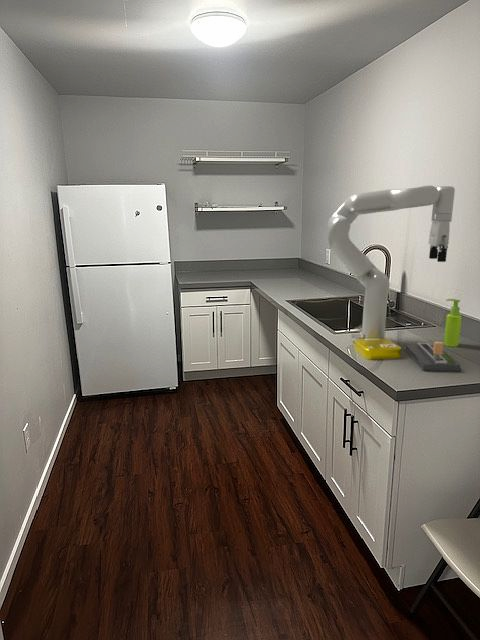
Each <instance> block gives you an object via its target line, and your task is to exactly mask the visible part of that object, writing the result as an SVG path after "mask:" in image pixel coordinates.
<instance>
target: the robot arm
mask: <svg viewBox="0 0 480 640" xmlns="http://www.w3.org/2000/svg"><path fill="white" fill-rule="evenodd" d="M455 192H456V190H455V187H454V186H449V185H448V186H446V185H445V186H442V185H440V186H434V185H422V186H418V187H417V186H416V187H410V188H392V189H389V188H388V189H382V190H376V191H367V192H361V193H360V192H359V193H353V194H351V195H349V197H347V198H346V199H345V201H344V202H343V203H342V204H341V205H340V207H339V208H338V209H337V210H336V211H335V212H334V213H333V215H331V216H330V218H329V220H328V221H327V229H328V234H327V242H328V246H329V248H330V250H331V251H332V253H333V255H335V256H336V257H337V258H338V260H340V262H341V263H342V264H343V265H344V266H345V267H346V270H347V271H348V272H349V273H350V274H351V275H352V276H353V277H354V278H355V279H356V280H358V282H359V283H360V284H361V285H362V286H363V287H364V288H365V293H364V299H363V310H362V311H363V312H362V325H361V330H360V331H359V332H358V333H350V338H351V339H354V340H356V339H375V338H385V335H386V334H385V332H386V322H387V321H386V320H387V305H388V297H389V293H390V286H391V284H390V279H389V277H388V275H387V274H386V273H384V272H382V271H381V270H380V269H378V267H376V265H374V263H373V262H372V261H371V260H370V259H369V257H368V256H367V255H366V254H365V253H364V252H362V251H361V250H360V249H359V248H358V247H357V246H356V245H355V244H354V243H353V241H352V240H351V239H350V236H349V235H350V231H351V224H353V223H354V221H355V220H356V219H357V218H358V217H359V215H360V216H361V215H367V214H374V213H384V212H393V211H399V210H404V209H411V208H418V207H421V208H422V207H428V206H432V212H431V224H430V225H431V226H430V229H429V230H430V231H429V238H428V244H429V253H428V254H429V255H428V256H429V257H428V258H429V259H430V260H436V259H437V262H438V263H445V262H447V254H448V253H447V252H448V248H449V240H450V223H451V222H452V219H453V211H454V210H453V209H454V201H455Z"/></svg>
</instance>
